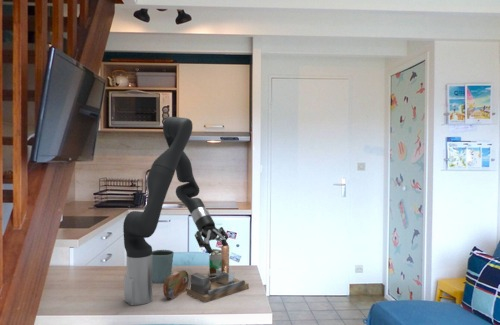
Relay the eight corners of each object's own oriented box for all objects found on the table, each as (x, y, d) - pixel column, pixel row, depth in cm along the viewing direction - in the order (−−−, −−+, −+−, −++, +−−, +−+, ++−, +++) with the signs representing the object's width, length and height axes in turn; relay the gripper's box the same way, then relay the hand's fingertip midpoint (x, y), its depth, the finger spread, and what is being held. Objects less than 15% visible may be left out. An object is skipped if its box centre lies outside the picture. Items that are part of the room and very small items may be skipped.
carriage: (228, 286, 152) (228, 248, 151) (215, 281, 158) (216, 245, 157) (234, 284, 154) (234, 247, 154) (221, 279, 160) (222, 243, 160)
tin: (168, 301, 142) (168, 279, 142) (161, 300, 143) (161, 278, 143) (189, 288, 156) (189, 268, 156) (182, 287, 157) (182, 267, 157)
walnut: (205, 291, 147) (205, 282, 147) (200, 289, 150) (200, 280, 150) (213, 289, 150) (213, 280, 149) (207, 287, 152) (207, 278, 152)
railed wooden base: (205, 302, 142) (205, 281, 141) (186, 293, 150) (186, 273, 150) (248, 288, 157) (248, 268, 157) (229, 280, 165) (229, 262, 165)
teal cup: (145, 279, 167) (145, 252, 167) (166, 274, 174) (166, 248, 173) (156, 285, 159) (156, 256, 159) (177, 280, 166) (177, 252, 166)
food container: (223, 278, 169) (223, 256, 168) (209, 278, 169) (209, 255, 169) (225, 269, 181) (225, 248, 181) (212, 269, 181) (212, 248, 181)
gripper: (192, 216, 160) (209, 248, 152) (219, 212, 169) (236, 243, 161) (185, 227, 164) (201, 259, 156) (212, 222, 173) (228, 253, 165)
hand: (219, 250), depth 159 cm, fingers open, 8 cm apart
